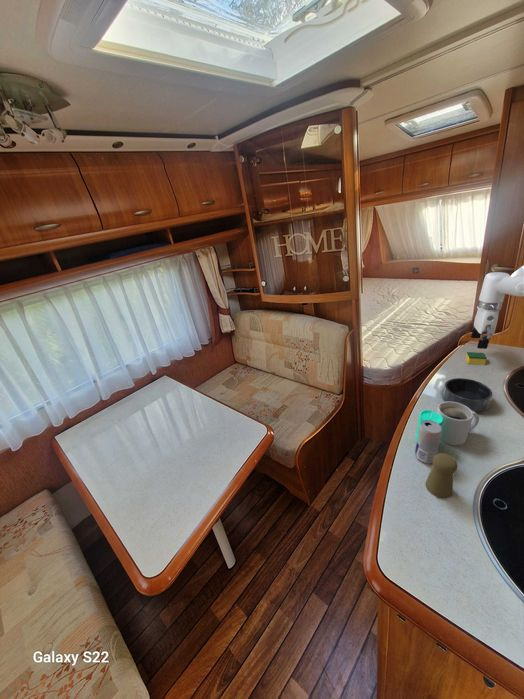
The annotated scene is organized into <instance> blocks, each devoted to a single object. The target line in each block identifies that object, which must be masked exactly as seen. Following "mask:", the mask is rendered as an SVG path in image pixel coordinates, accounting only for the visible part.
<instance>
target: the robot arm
mask: <svg viewBox="0 0 524 699" xmlns="http://www.w3.org/2000/svg"><path fill="white" fill-rule="evenodd" d="M506 295H508V296H515V297H524V264H523V265H522V266H520V267H519V268H518V269H517V270H515V271H514V272H513V273H512V274H511V275H510V274H509V273H507V272H502V271H493V272H492V271H491V272H489V273H487V274H486V275H485V276H484V279H483V282H482V286H481V290H480V294H479V298H478V300H477V303H476V304H477V305H476V309H477V311H476V314H475V316H474V321H473V327H472V331H471V335H470V338H471V339H478V342H477V346H476V348H477V349H480V350H482V349H483V350H486V349H487V348H488V346H489V343H490V341H491V339H492V336H493V335H494V334H495V332H496V328H497V324H498V321H499V313H500V311H501V310H502V306H503V304H504V300H505V296H506Z"/></svg>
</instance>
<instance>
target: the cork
mask: <svg viewBox="0 0 524 699" xmlns="http://www.w3.org/2000/svg"><path fill="white" fill-rule="evenodd" d="M432 462H433V463H432V468H431V470H430V472H429V474H428V476H427V478H426V481H425V488H426V490H427V491H428V492H429V493H430V495H432V496H434V497H436V498H439V499H450V498H451V497H452V495H453V489H454V487H453V486H454V474H455V473H456V472H457V471H458V468H459V466H458V462H457V461H456V459H455V458H454V457H453V456H452V455H450V454H448V453H444V452H439V453H437V454H436V455H435V456H434V457H433V460H432Z"/></svg>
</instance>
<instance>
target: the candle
mask: <svg viewBox="0 0 524 699" xmlns="http://www.w3.org/2000/svg"><path fill="white" fill-rule="evenodd" d="M425 420H431V421H434V422H436V423H438V424H439V425H440V426H441V427H442V422H443V418H442V416H441V415H439V414H438V413H437V411H433V410H430V409H424V410H421V411H420V412H419V416H418V422H417V428H416V432H415V444H417V438H418V432H419V427H420V424H421V422H422V421H425Z"/></svg>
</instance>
